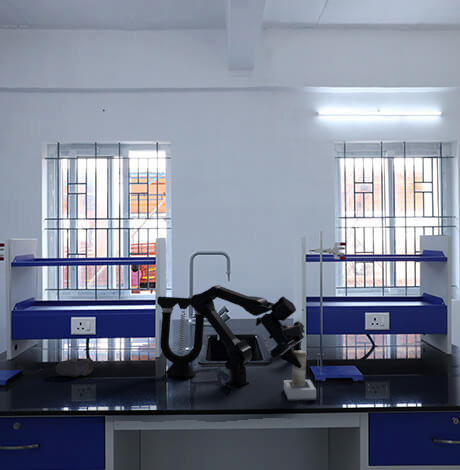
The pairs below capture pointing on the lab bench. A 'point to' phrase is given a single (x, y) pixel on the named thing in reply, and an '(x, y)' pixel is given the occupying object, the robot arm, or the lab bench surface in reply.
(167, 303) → the spring support
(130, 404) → the lab bench surface
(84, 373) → the perforated stone tool
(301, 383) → the peg
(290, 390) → the socket block
